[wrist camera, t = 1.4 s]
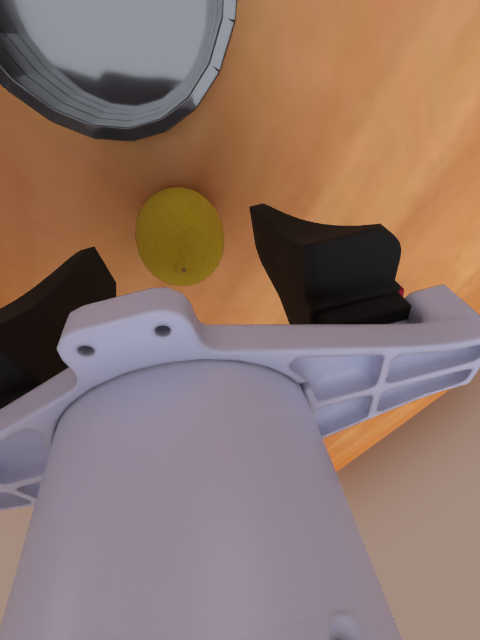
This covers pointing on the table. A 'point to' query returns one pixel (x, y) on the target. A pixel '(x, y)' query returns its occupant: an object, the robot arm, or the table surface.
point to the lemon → (179, 236)
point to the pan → (113, 60)
